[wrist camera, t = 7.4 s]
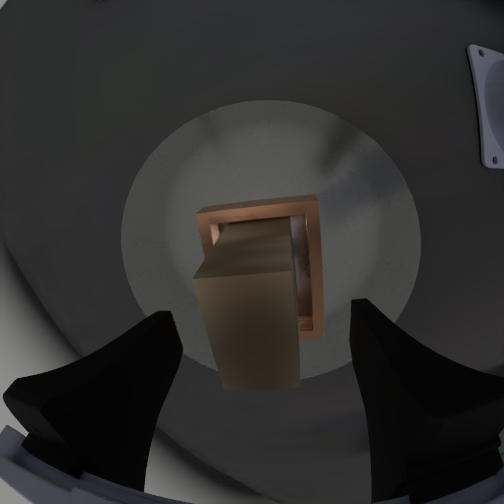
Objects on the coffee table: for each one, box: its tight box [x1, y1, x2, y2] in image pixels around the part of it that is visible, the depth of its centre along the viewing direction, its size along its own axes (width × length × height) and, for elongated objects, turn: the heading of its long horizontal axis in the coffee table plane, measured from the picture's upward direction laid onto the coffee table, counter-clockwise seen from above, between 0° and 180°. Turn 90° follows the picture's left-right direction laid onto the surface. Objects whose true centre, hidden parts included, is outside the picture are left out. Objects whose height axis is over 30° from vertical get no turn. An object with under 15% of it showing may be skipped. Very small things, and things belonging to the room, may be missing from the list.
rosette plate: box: [121, 100, 421, 379], centre depth 16 cm, size 18×18×2 cm
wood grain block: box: [192, 216, 300, 389], centre depth 13 cm, size 3×5×7 cm, turn 8°
